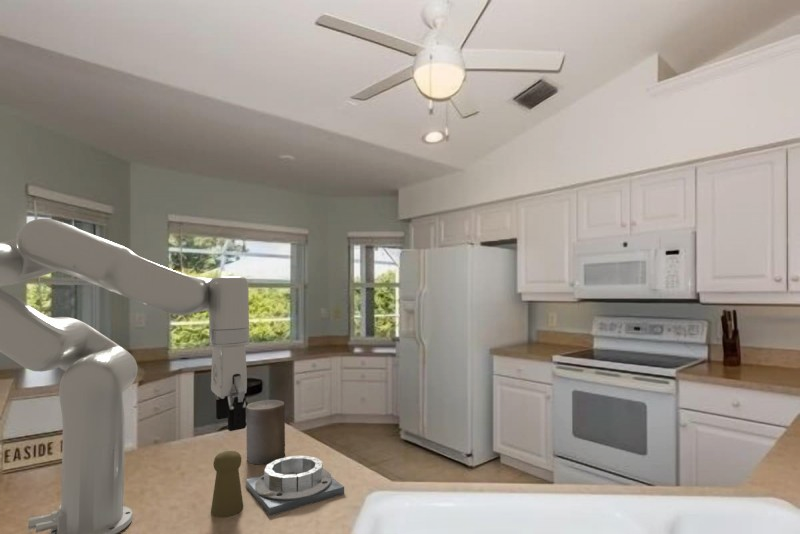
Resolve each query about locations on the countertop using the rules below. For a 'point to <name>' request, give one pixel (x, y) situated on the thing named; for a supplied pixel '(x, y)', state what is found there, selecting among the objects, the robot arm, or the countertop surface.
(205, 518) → the countertop surface
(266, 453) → the pillar candle
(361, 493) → the countertop surface
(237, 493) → the olive knobbed peg
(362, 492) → the countertop surface
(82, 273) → the robot arm
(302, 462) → the rosette plate
